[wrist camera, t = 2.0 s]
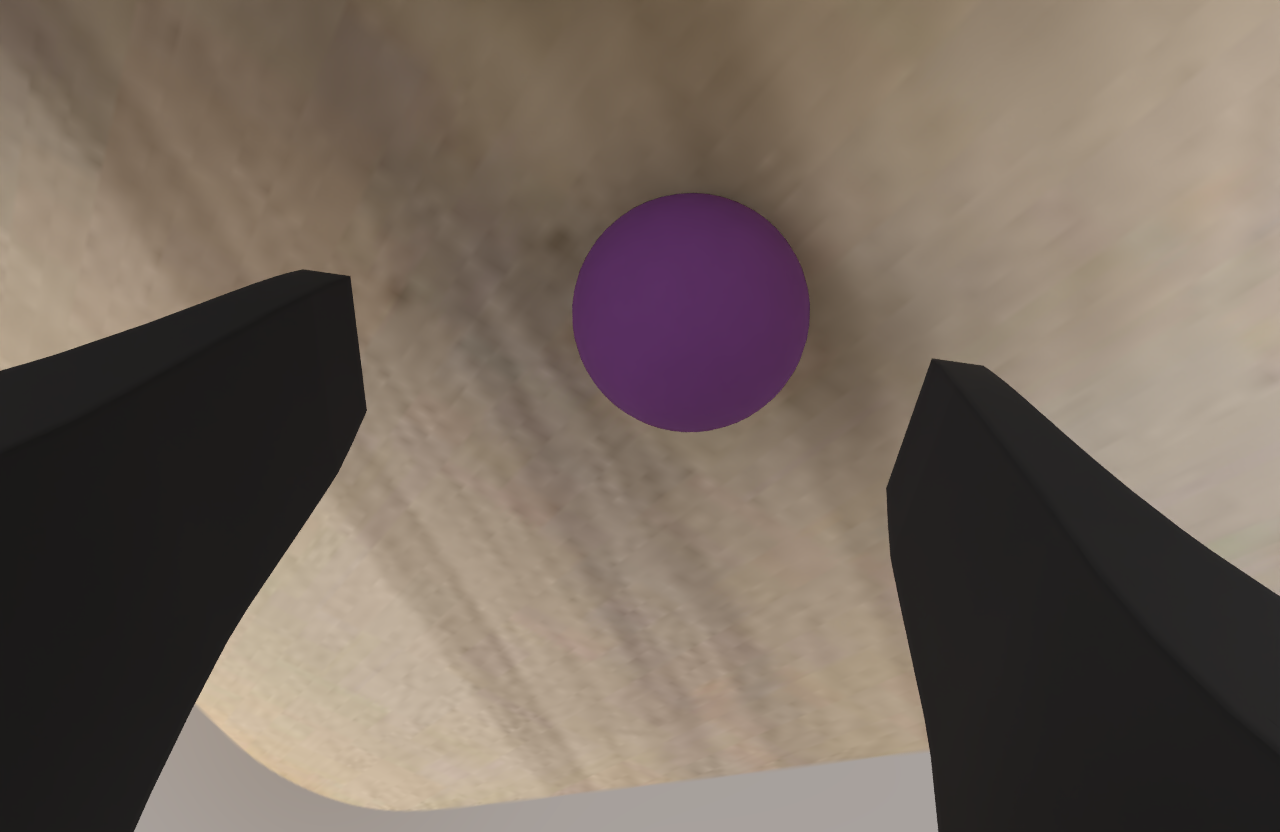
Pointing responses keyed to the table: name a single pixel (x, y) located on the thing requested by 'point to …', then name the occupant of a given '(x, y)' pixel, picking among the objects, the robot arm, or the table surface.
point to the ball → (691, 312)
